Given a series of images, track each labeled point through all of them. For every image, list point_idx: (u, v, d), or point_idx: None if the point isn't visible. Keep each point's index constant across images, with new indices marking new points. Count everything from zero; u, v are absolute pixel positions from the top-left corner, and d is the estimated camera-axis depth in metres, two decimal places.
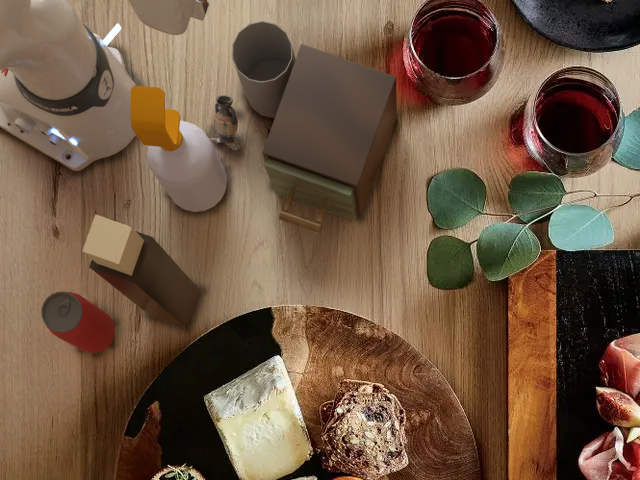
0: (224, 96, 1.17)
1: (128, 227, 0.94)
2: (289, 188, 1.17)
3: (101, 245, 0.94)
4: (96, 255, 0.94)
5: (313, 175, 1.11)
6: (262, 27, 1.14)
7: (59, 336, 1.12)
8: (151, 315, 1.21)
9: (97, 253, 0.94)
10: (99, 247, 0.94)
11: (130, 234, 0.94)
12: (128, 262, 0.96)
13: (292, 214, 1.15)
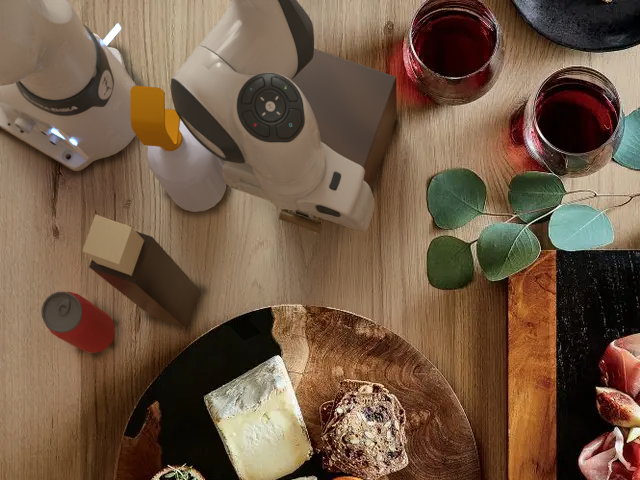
0: None
1: (128, 227, 0.94)
2: None
3: (101, 245, 0.94)
4: (96, 255, 0.94)
5: None
6: None
7: (59, 336, 1.12)
8: (151, 315, 1.21)
9: (97, 253, 0.94)
10: (99, 247, 0.94)
11: (130, 234, 0.94)
12: (128, 262, 0.96)
13: (292, 214, 1.15)
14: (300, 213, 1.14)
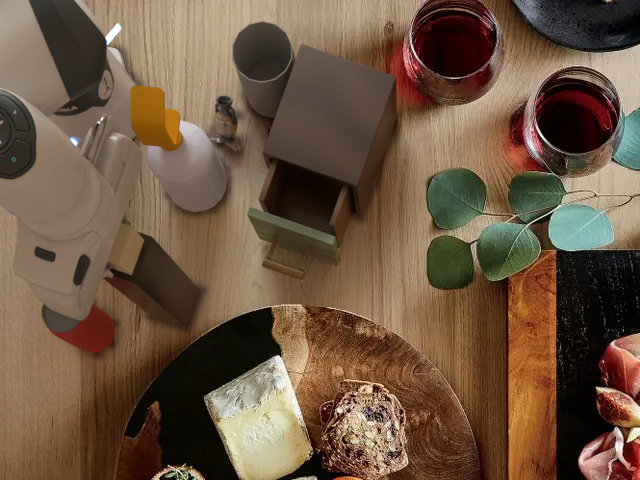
0: (224, 96, 1.17)
1: (128, 226, 0.94)
2: (272, 235, 1.17)
3: None
4: None
5: (295, 224, 1.11)
6: (262, 27, 1.14)
7: (59, 336, 1.12)
8: (151, 315, 1.21)
9: None
10: None
11: (130, 233, 0.94)
12: (128, 262, 0.96)
13: (275, 262, 1.15)
14: None
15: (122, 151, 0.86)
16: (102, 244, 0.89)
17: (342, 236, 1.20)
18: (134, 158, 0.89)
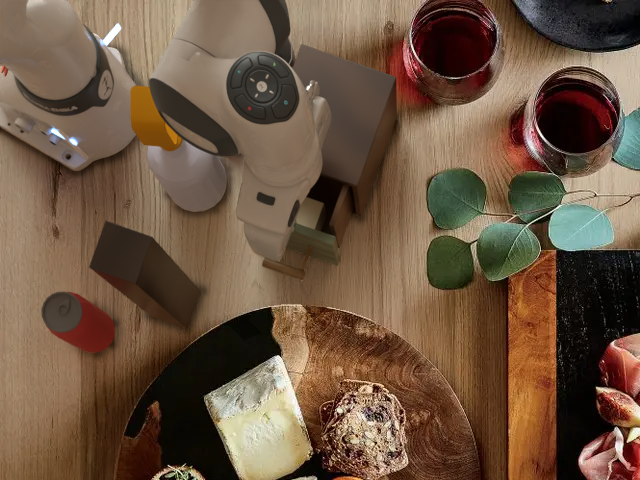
0: None
1: (321, 203, 1.15)
2: None
3: (298, 218, 1.15)
4: None
5: None
6: None
7: (59, 336, 1.12)
8: (151, 315, 1.21)
9: None
10: (297, 219, 1.15)
11: (322, 208, 1.15)
12: None
13: (275, 262, 1.15)
14: None
15: (323, 112, 1.00)
16: None
17: (342, 236, 1.20)
18: (327, 119, 1.03)
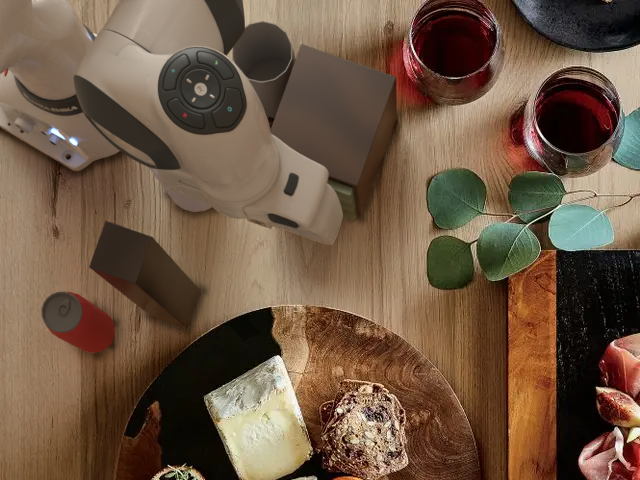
0: None
1: None
2: None
3: None
4: None
5: None
6: (262, 27, 1.14)
7: (59, 336, 1.12)
8: (151, 315, 1.21)
9: None
10: None
11: None
12: None
13: None
14: (256, 222, 0.96)
15: None
16: None
17: None
18: None
